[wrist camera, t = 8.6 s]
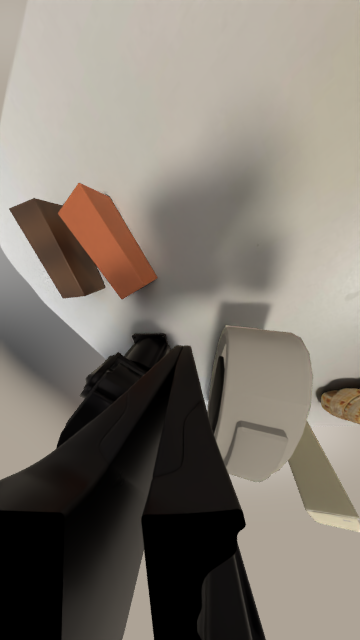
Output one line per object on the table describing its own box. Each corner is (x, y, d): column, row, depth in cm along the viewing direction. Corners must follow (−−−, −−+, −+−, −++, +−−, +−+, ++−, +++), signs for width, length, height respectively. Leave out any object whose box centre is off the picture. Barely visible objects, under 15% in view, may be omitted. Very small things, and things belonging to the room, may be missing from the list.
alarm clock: (222, 304, 18) (237, 394, 7) (272, 308, 17) (380, 422, 6) (206, 399, 29) (203, 488, 19) (235, 405, 28) (249, 504, 17)
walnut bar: (105, 287, 21) (84, 296, 17) (86, 290, 22) (62, 298, 18) (71, 207, 16) (33, 197, 13) (48, 215, 17) (8, 208, 14)
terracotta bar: (157, 278, 18) (145, 285, 15) (137, 290, 20) (121, 299, 16) (109, 196, 15) (78, 182, 11) (89, 219, 16) (57, 213, 13)
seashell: (332, 388, 18) (444, 424, 14) (324, 361, 22) (410, 382, 17) (313, 419, 22) (396, 455, 17) (309, 391, 26) (377, 415, 21)
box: (262, 392, 25) (303, 509, 14) (290, 388, 23) (361, 520, 12) (272, 408, 26) (315, 524, 15) (298, 405, 24) (369, 536, 13)
